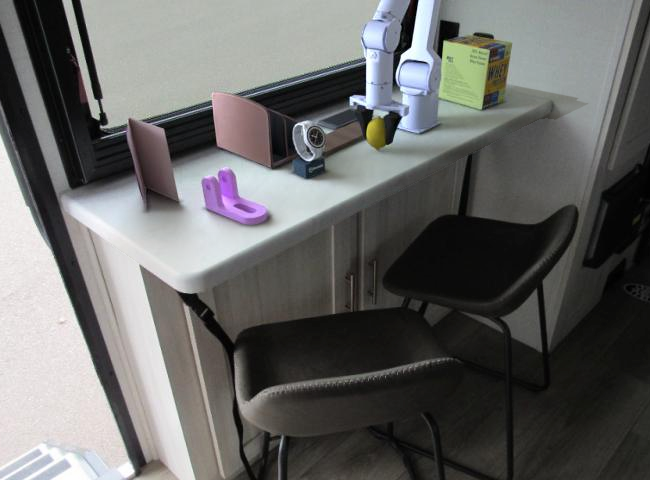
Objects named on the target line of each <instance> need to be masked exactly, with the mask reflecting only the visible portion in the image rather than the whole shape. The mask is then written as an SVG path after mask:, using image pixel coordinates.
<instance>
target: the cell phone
mask: <svg viewBox="0 0 650 480" xmlns="http://www.w3.org/2000/svg"><path fill="white" fill-rule="evenodd" d="M356 109H357V108H353V107H350V108H347V109H345V110H342V111H340V112H337V113H334V114H332V115H329V116H327V117H324V118H322V119H319V120H318V121H317V125H318V126H322V127H325V128H329V129H331V130H334V131H335V130H337V129H340V128H342V127H344V126H347V125H349V124H351V123H354V122H359V121H358V119H357V117H356V116H355V114H354V110H356Z"/></svg>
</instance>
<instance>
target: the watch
mask: <svg viewBox="0 0 650 480" xmlns="http://www.w3.org/2000/svg"><path fill="white" fill-rule="evenodd" d="M302 131H303V135H302ZM326 134H327V133H326V132H325V131H324V129H323V128H322V127H321V126H320V125H318V124H316V123H315V122H312V121H311V120H304V121H301V122H298V124H296V125H295V126H294V128H293V142H294V145H295V148H296V150H297V153H298V154H299V155H300V157H297V158H295V159H293V160H292V173H293V174H294V175H297V176H298V177H301V178H303V179H305V180H308V179H311V178H312V177H314V176H317V175H320V174H322V173H324V172H326V158H325V156H323V155H322V153H323V150H324V147H325V142H326ZM305 143H306V145H307V146H308V147H309V148H310V150H311V151H310V153H309V152H308V150H307V148H306V146H305Z"/></svg>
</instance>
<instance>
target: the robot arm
mask: <svg viewBox="0 0 650 480" xmlns="http://www.w3.org/2000/svg"><path fill="white" fill-rule="evenodd" d="M441 2H442V0H418V3H417V10H416V14H415V15H416V16H415V22H414V28H413V34H412V42H411V47H410V48H408V49H407V50H405V52H403V53H402V54H401V55H400V60H399V63H398V66H397V69H396V72H395V81H396V84H397V86H398V87H399V88H400V89H399V90H400V92H402V103H401V102H399V101H397V100H394V99H393V77H394V76H393V73H394V52H395V51H396V49H397V47H398V45H399V44H400V38H401V31H402V25H401V24H402V22H403V19H404V17H405V15H406V13H407V10H408V8H409V5H410V3H411V0H380V1H379V4H378V6H377V9H376V11H375V13H374V15H373V18H372V19H370V20H369V21H368V22H366V23H365V24H364V26H363V27H362V31H361V36H360V43H361V46H362V48H363V57H364V59H366V60H365V61H366V69H365V71H366V72H365V73H366V74H365V75H366V77H365V78H366V79H365V80H366V81H365V82H366V83H365V85H366V86H365V95H359V94H353V95H351V96H349V106H351V107H355V106H356V108H355V109H356V110H354V114H355V116H356V117H357V119H358V122H359V124H360V126H361V129H362V133H363V137H364V138H363V140H365V141H367V137H366V132H367V127H368V124H369V122H370V121H371V120H372V119H373V117H374V111H381V112H386V113H387V114H385V115H383V117H382V118H383V119H384V123H385V131H386V134H385V143H386V146H390V145H392V144H393V143H394V140H395V135H396V132H397V129H400V130H403V131H406V132H407V131H408V132H410V133H415V134H418V135H419V134H422V133H424V132H427V131H429V130H430V129H433V128H434V127H437V126H438V125H441V121H439V120H438V116H439V105H440V98H439V92H438V91H437V90H438V89H439V88H440V81H441V66H442V57H440V55H439V54H437V52H436V51H435V50H434V43H435V38H436V32H437V27H438V20H439V15H440V9H441ZM418 61H419V62H418ZM424 62H425V63H424Z"/></svg>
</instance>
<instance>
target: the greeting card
mask: <svg viewBox="0 0 650 480" xmlns="http://www.w3.org/2000/svg"><path fill="white" fill-rule="evenodd" d="M124 128H125V129H124V130H125V135H126V139H127V140H126V142H127V145H128V148H129V150H130V153H131V156H132V161H133V165H134V172H135V176H136V177H135V178H136V182H137V186H138V190H139V193H140V195H141V198H142V201H143V204H144V209H145V210H147V194H146V188H147V189H149V190H151V191H154V192H156V193H158V194H161V195H163V196H166V197H167V198H170V199H172V200H175V201H177V202H180V199H179V193H178V189H177V184H176V180H175V173H174V170H173V165H172V161H171V160H172V159H171V157H170V156H171V155H170V151H169V146H168V141H167V137H166V132H165V128H162V127H160V126H157V125H153V124H151V123H147V122H145V121H142V120H139V119H136V118H133V117H129V116H127V126H124Z"/></svg>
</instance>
